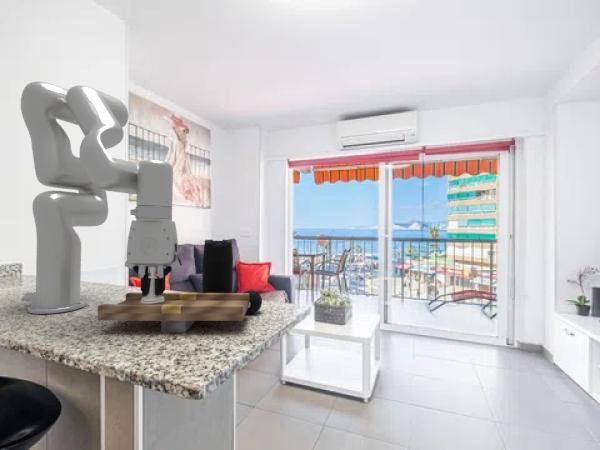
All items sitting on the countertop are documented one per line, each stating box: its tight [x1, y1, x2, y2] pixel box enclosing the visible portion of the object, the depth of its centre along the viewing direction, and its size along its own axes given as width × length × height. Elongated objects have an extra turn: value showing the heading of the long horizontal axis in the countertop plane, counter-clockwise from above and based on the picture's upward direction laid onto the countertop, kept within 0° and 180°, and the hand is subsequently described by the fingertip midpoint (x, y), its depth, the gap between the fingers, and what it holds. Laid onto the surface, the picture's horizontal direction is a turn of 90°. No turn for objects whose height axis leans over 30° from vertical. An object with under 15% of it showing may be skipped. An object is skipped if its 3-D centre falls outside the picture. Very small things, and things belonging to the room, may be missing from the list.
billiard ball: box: [243, 289, 263, 314], centre depth 82 cm, size 6×6×6 cm
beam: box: [97, 292, 249, 333], centre depth 72 cm, size 30×13×6 cm, turn 93°
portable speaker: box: [201, 239, 234, 293], centre depth 88 cm, size 8×9×19 cm
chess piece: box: [141, 265, 164, 304], centre depth 71 cm, size 5×5×10 cm
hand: (153, 293), depth 71 cm, fingers closed on chess piece
